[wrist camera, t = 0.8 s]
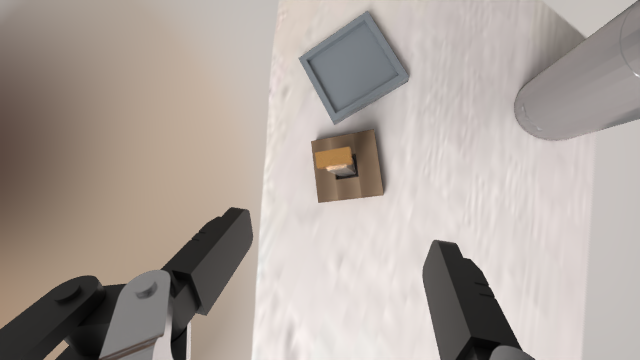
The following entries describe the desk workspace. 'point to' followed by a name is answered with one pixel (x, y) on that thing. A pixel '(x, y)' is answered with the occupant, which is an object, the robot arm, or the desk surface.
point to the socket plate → (366, 163)
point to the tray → (353, 68)
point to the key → (336, 161)
